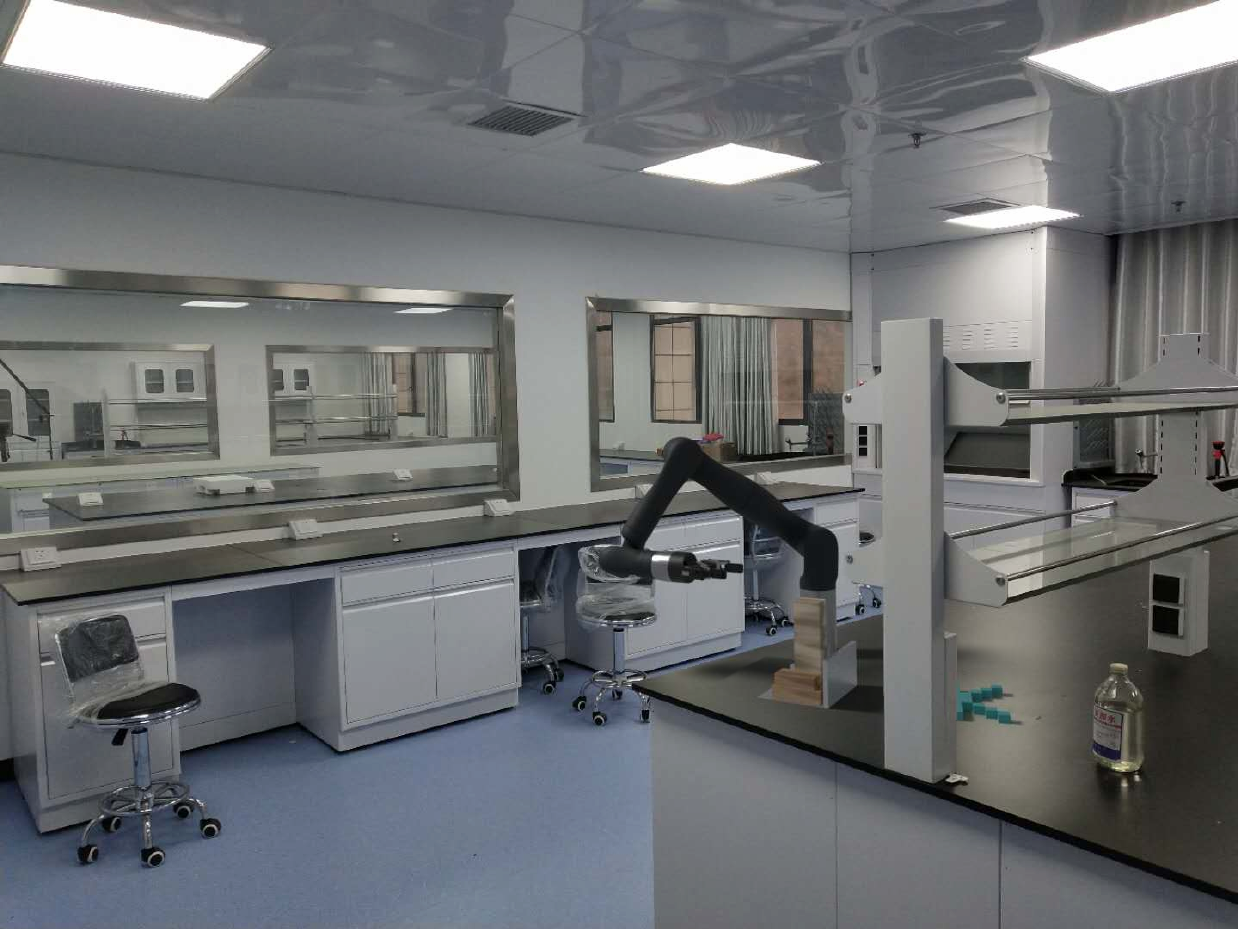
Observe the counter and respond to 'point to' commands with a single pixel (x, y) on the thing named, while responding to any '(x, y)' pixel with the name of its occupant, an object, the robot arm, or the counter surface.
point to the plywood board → (810, 634)
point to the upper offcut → (798, 679)
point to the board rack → (831, 677)
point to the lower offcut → (798, 693)
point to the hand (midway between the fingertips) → (734, 571)
